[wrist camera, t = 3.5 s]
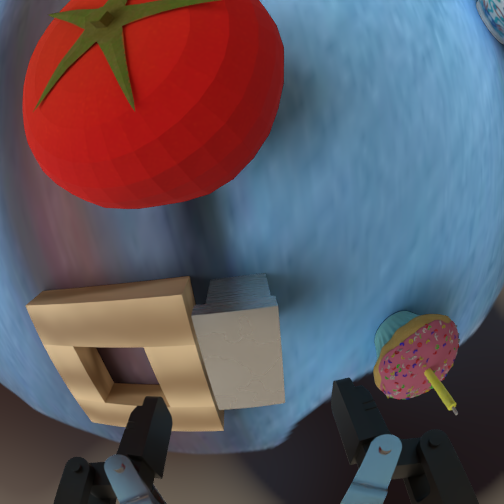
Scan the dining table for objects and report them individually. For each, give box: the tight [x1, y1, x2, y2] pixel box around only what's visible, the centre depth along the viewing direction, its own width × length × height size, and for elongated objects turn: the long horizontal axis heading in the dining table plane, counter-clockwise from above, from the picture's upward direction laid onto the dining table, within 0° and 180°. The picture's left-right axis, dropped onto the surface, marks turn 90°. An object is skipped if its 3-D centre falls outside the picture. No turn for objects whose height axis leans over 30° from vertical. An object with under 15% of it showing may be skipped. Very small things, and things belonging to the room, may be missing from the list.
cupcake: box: [373, 311, 460, 415], centre depth 17 cm, size 9×8×12 cm
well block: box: [26, 276, 224, 431], centre depth 20 cm, size 15×15×3 cm
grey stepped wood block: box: [191, 273, 285, 410], centre depth 17 cm, size 7×4×8 cm, turn 7°
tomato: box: [23, 0, 284, 209], centre depth 10 cm, size 11×11×13 cm
